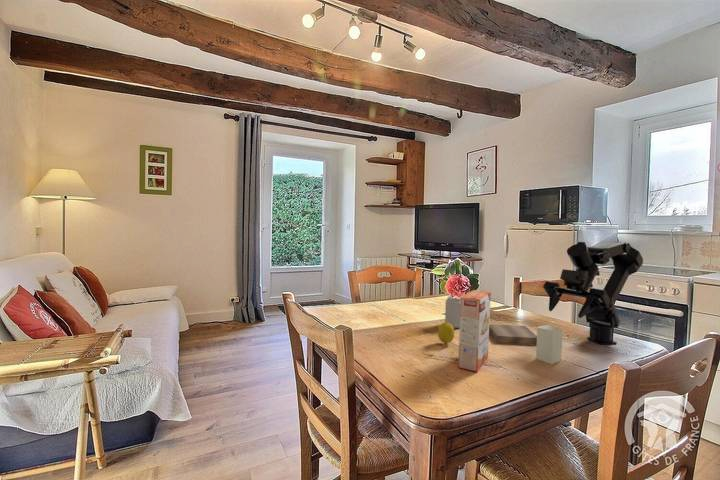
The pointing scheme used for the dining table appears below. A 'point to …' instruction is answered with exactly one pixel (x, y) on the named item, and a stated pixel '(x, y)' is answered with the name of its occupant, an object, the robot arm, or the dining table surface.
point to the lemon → (446, 332)
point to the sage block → (549, 344)
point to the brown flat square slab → (512, 334)
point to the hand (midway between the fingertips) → (563, 313)
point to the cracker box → (474, 329)
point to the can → (453, 311)
